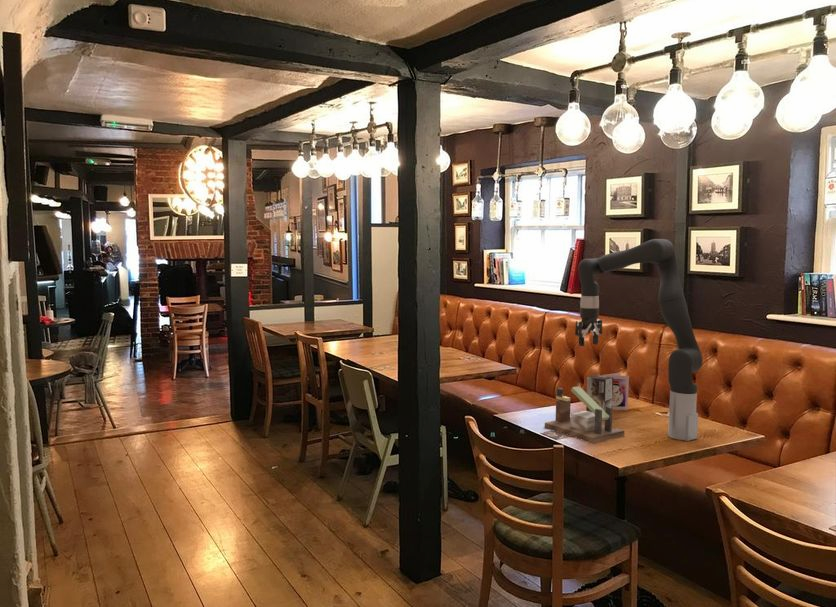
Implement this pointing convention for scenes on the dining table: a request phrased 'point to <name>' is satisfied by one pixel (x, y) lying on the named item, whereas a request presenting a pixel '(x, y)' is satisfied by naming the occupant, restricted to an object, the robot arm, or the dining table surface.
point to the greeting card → (620, 391)
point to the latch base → (576, 432)
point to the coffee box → (600, 390)
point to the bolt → (561, 395)
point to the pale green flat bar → (588, 401)
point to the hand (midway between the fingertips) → (588, 345)
